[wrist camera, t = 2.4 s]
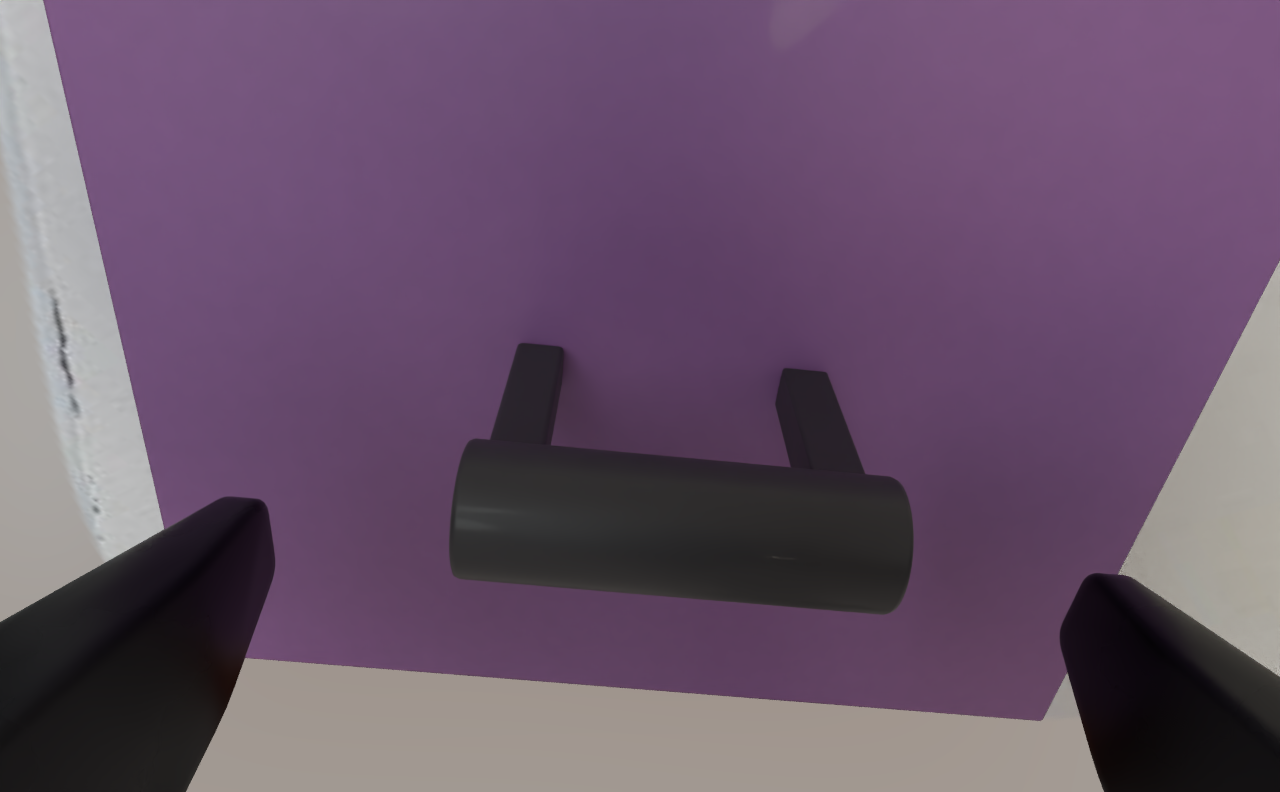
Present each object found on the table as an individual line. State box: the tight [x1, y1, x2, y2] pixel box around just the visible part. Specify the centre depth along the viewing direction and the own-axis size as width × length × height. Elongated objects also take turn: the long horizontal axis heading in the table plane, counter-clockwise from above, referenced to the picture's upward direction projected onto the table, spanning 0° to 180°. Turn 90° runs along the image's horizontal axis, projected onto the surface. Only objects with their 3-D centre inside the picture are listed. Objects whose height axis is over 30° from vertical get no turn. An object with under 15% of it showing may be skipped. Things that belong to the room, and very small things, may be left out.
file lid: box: [43, 0, 1280, 721], centre depth 11 cm, size 14×17×5 cm
